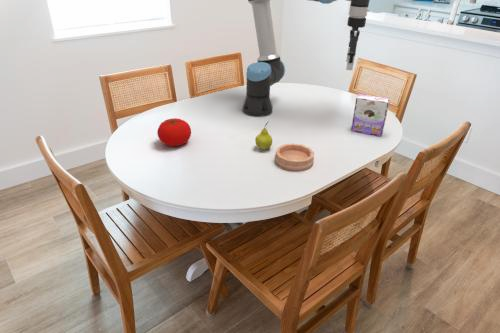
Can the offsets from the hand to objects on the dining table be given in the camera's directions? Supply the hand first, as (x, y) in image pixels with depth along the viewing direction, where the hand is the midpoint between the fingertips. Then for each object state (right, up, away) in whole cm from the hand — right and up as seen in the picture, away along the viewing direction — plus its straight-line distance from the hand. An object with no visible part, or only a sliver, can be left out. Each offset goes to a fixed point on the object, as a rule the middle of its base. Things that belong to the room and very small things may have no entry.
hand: (349, 65), depth 172 cm
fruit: (-40, -39, -16) cm, 58 cm away
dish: (-28, -44, -25) cm, 58 cm away
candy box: (+8, -30, 0) cm, 32 cm away
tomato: (-77, -37, -13) cm, 87 cm away
